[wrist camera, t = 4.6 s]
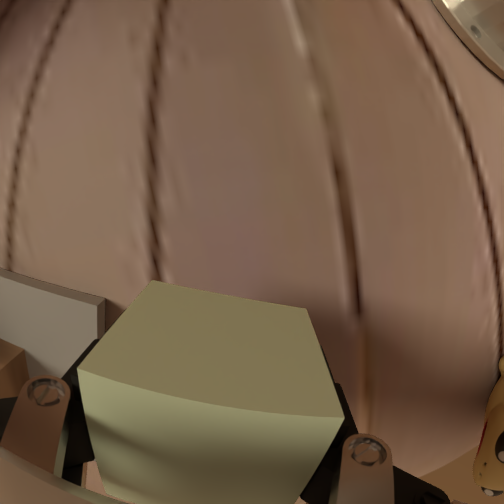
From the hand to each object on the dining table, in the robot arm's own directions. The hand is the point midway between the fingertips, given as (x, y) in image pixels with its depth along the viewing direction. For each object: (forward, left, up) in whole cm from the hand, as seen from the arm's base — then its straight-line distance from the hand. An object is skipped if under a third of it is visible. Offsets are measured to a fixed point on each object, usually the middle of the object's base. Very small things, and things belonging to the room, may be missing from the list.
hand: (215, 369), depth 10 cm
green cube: (0, 0, -1) cm, 1 cm away
